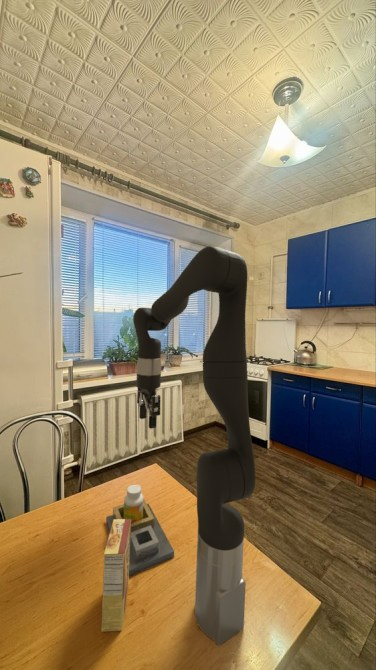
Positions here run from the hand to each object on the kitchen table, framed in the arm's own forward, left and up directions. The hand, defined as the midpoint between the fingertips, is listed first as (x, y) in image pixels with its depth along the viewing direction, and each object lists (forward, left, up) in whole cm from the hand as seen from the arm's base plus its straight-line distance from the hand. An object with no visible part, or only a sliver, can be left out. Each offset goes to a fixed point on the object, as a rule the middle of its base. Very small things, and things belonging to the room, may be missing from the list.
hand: (147, 422), depth 80 cm
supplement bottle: (-6, +6, -26) cm, 27 cm away
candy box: (-25, +15, -28) cm, 40 cm away
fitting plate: (-10, +6, -27) cm, 30 cm away
